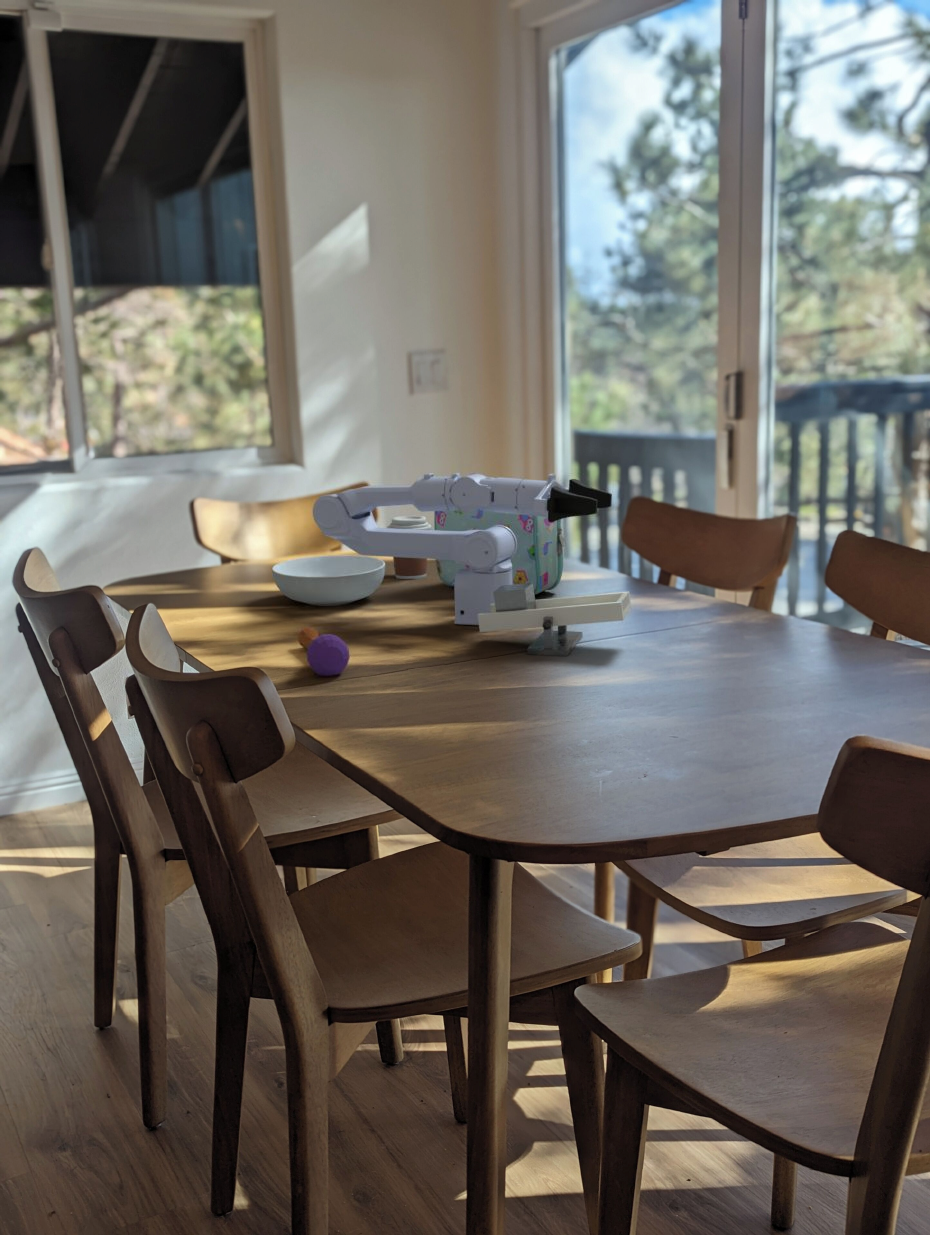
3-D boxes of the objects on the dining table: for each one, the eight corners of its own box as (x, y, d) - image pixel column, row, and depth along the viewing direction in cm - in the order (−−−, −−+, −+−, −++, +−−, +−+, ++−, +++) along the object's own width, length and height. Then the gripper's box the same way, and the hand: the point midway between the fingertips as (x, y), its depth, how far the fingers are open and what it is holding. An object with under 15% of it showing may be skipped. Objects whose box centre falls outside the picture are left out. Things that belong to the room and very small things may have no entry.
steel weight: (497, 620, 174) (493, 592, 173) (505, 613, 178) (501, 585, 178) (529, 618, 172) (525, 589, 171) (536, 611, 177) (532, 582, 176)
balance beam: (480, 632, 173) (477, 614, 173) (493, 620, 181) (491, 603, 180) (623, 620, 167) (621, 602, 166) (631, 608, 174) (629, 591, 174)
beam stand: (527, 654, 170) (526, 618, 169) (545, 634, 181) (544, 601, 180) (566, 656, 168) (566, 619, 167) (582, 636, 179) (582, 602, 178)
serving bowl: (252, 609, 206) (249, 572, 205) (309, 587, 225) (307, 553, 223) (354, 616, 198) (352, 577, 197) (405, 592, 217) (404, 557, 216)
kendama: (329, 620, 178) (355, 639, 160) (325, 658, 179) (350, 681, 160) (291, 617, 177) (313, 635, 158) (287, 655, 177) (308, 678, 158)
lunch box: (574, 593, 212) (574, 478, 207) (541, 603, 204) (540, 484, 199) (464, 579, 229) (461, 472, 224) (430, 587, 221) (426, 477, 216)
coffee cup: (379, 578, 232) (377, 519, 229) (405, 570, 239) (403, 514, 236) (417, 582, 227) (414, 522, 224) (441, 574, 234) (439, 516, 232)
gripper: (507, 477, 177) (591, 483, 172) (539, 467, 190) (618, 473, 185) (506, 522, 179) (589, 530, 174) (538, 509, 192) (616, 516, 187)
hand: (604, 503), depth 179 cm, fingers open, 7 cm apart
